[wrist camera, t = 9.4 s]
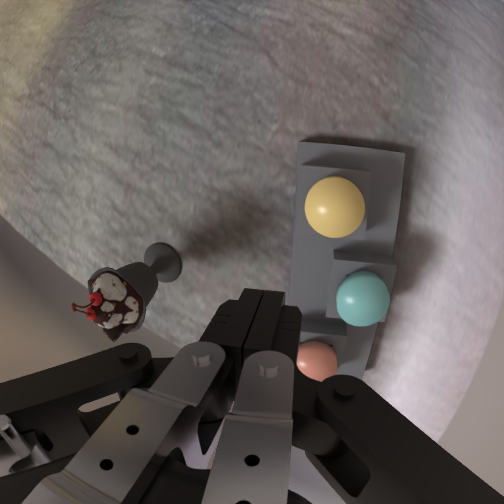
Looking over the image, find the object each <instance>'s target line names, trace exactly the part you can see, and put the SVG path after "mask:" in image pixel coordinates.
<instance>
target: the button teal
mask: <svg viewBox="0 0 504 504" xmlns="http://www.w3.org/2000/svg"><path fill="white" fill-rule="evenodd" d="M336 301H337V310H338V313H339V315H340V317H341V318H342V319H343V320H344V321H345V322H347V323H349V324H351V325H354V326H368V325H372V324H374V323H376V322H378V321H379V320H380V319H381V318H382V317H383V316H384V315H385V314H386V312H387V310H388V308H389V304H390V296H389V293H388V290H387V287H386V285H385V283H384V281H383V280H382V278H381V277H379V276H378V275H377V274H375V273H373V272H370V271H358V272H354V273H352V274H350V275H348V276H347V277H345V278H344V279H343V280H342V281H341V283H340V284H339V286H338V289H337V292H336Z"/></svg>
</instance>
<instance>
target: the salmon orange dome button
mask: <svg viewBox="0 0 504 504" xmlns="http://www.w3.org/2000/svg"><path fill="white" fill-rule="evenodd" d="M297 366H298V368H299V370H300V371H301V372H302V373H303V374H305V375H306V376H308V377H309V378H312V379H314V380H317V381H320V382H322V381H323V380H324V379H326V378H328V377H330V376H333V375H335V374H336V372H337V355H336V353H335V351H334V349H333V348H332V347H331V346H329V345H328V344H326V343H323V342H319V341H309V342H305V343H302V344H300V345H299V352H298V358H297Z"/></svg>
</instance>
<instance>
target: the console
mask: <svg viewBox="0 0 504 504" xmlns="http://www.w3.org/2000/svg"><path fill="white" fill-rule="evenodd" d="M404 161H405V153H401V152H394V151H387V150H380V149H372V148H364V147H355V146H346V145H335V144H324V143H311V142H298V154H297V175H296V194H295V211H294V227H293V242H292V256H291V269H290V282H289V294H288V306H298V308H299V309H300V311H301V313H302V314H303V315H302V325H301V334H300V344H302V343H305V342H309V341H319V342H323V343H326V344H328V345H329V346H331V347H332V348H333V349H334V351H335V353H336V355H337V372H336V374H335V375H340V374H344V375H351V376H354V377H357V378H359V379H361V380H362V377H363V374H364V371H365V368H366V364H367V361H368V358H369V354H370V351H371V347H372V343H373V340H374V336H375V332H376V328H377V324H378V322H385V319H386V315H387V312H386V314H385V315H384V316H383V317H382V318H381V319H380V320H379V321H378V322H376V323H374V324H372V325H368V326H354V325H351V324H349V323H347V322H345V321H344V320H343V319H342V318H341V317H340V315H339V313H338V310H337V301H336V292H337V289H338V286H339V284H340V283H341V281H342V280H343V279H344V278H345V277H347V276H348V275H350V274H352V273H354V272H358V271H370V272H373V273H375V274H377V275H378V276H379V277H381V278H382V280H383V281H384V283H385V285H386V287H387V290H388V293H389V296H390V299H391V294H392V290H393V285H394V281H395V276H396V271H397V264H396V262H395V260H394V258H393V257H392V255H393V249H394V243H395V237H396V230H397V224H398V216H399V209H400V201H401V192H402V183H403V173H404ZM328 176H340V177H343V178H346V179H348V180H349V181H351V182H352V183H353V184H354V185H355V186H356V187H357V188H358V189H359V191H360V192H361V194H362V196H363V199H364V202H365V214H364V218H363V220H362V222H361V224H360V226H359V227H358V228H357V229H356V230H355V231H354V232H352V233H351V234H349V235H347V236H344V237H340V238H331V237H326V236H324V235H321V234H320V233H318V232H317V231H315V230H314V229H313V228H312V227H311V225H310V224H309V222H308V220H307V218H306V214H305V201H306V197H307V194H308V192H309V190H310V188H311V187H312V186H313V184H315V183H316V182H317V181H318V180H320V179H322V178H324V177H328ZM387 311H388V310H387ZM300 344H299V345H300Z"/></svg>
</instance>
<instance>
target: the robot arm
mask: <svg viewBox="0 0 504 504" xmlns="http://www.w3.org/2000/svg"><path fill="white" fill-rule="evenodd" d="M302 315H303V314H302V313H301V311H300V309H299V308H298V306H288V305H285V292H280V291H270V290H265V291H264V290H259V289H249V288H244V290H243V292H242V294H241V296H240V298H239V300H230V299H229V300H228V301H226V302H225V303H223V304H222V305H220V306H219V308H218V310H217V311H216V313H215V315H214V316H213V318H212V320H211V322H210V323H209V325H208V326H207V328H206V330H205V331H204V333H203V335H202V336H201V338H200V340H199V341H198V342H194V343H191V344H188V345H186V346H184V347H183V348H182V349H181V350H180V351H179V352H178V353H177V355H176V356H175V357H171V358H152V356H151V352H150V350H149V349H148V348H147V347H146V346H144V345H142V344H139V343H126V344H122V345H119V346H116V347H113V348H110V349H107V350H104V351H101V352H98V353H95V354H92V355H89V356H86V357H83V358H80V359H77V360H74V361H71V362H68V363H65V364H62V365H58V366H56V367H52V368H49V369H46V370H43V371H40V372H36V373H33V374H30V375H26V376H23V377H20V378H16V379H13V380H9V381H6V382H3V383H0V504H312V503H311V502H309V501H308V500H307V499H305V498H304V497H302V496H300V495H299V494H297V493H295V492H293V491H291V490H289V489H288V484H289V471H290V458H291V445H292V446H295V447H297V448H300V449H303V450H305V454H306V456H307V458H308V459H309V460H310V462H311V463H312V464H313V465H314V467H315V468H316V469H317V470H318V471H319V473H320V474H321V475H322V476H323V477H324V478H325V480H326V481H327V482H328V483H329V484H330V486H331V487H332V488H333V489H334V490H335V491H336V492H337V494H338V495H339V496H340V497H341V498H342V499H343V500H344V501H345V503H346V504H504V496H502V495H501V494H499V493H498V492H497V491H496V490H495V489H493V488H492V487H491V486H489V485H488V484H487V483H485V482H484V481H483V480H482V479H480V478H479V477H478V476H477V475H475V474H474V473H473V472H472V471H470V470H469V469H468V468H467V467H466V466H464V465H463V464H462V463H461V462H459V461H458V460H457V459H455V458H454V457H453V456H452V455H451V454H449V453H448V452H447V451H445V450H444V449H443V448H442V447H441V446H440V445H438V444H437V443H436V442H435V441H434V440H432V439H431V438H430V437H429V436H427V435H426V434H425V433H424V432H423V431H421V430H420V429H419V428H418V427H417V426H415V425H414V424H413V423H412V422H411V421H409V420H408V419H407V418H406V417H405V416H403V415H402V414H401V413H400V412H399V411H398V410H396V409H395V408H394V407H393V406H392V405H390V404H389V403H388V402H387V401H386V400H385V399H383V398H382V397H381V396H380V395H379V394H378V393H376V392H375V391H374V390H373V389H372V388H370V387H369V386H368V385H367V384H366V383H365V382H363V381H362V380H361V379H359V378H357V377H354V376H351V375H344V374H340V375H333V376H330V377H328V378H326V379H324V380H323V381H322V382H320V381H317V380H314V379H312V378H309V377H308V376H306V375H305V374H303V373H302V372H301V371H300V370H299V368H298V366H297V358H298V352H299V344H300V334H301V325H302ZM116 392H118V395H119V398H120V401H118V402H115V403H112V404H110V405H107V406H104V407H101V408H99V409H96V410H93V411H91V412H81V411H80V410H78V408H79V407H80V406H82V405H83V404H86V403H89V402H92V401H94V400H97V399H100V398H103V397H105V396H108V395H111V394H114V393H116ZM233 401H234V406H233V409H232V413H229V410H230V408H231V405H232V403H233ZM218 441H219V442H218ZM217 443H218V446H217V449H216V453H215V457H214V460H213V464H212V468H211V469H206V468H207V464H208V461H209V459H210V457H211V455H212V453H213V451H214V449H215V447H216V445H217Z"/></svg>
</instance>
